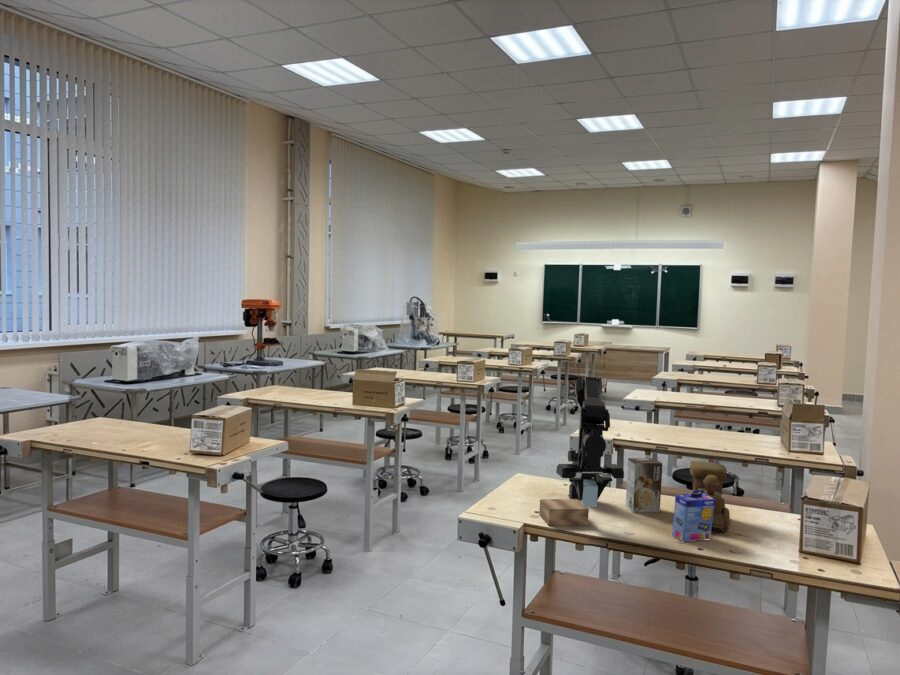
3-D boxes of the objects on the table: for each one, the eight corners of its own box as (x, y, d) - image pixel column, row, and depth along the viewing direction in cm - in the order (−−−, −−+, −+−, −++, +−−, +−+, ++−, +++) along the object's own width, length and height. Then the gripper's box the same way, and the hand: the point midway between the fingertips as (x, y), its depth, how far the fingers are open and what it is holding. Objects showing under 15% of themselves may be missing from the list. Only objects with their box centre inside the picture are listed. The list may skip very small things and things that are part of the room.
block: (593, 500, 184) (594, 480, 183) (596, 507, 178) (598, 486, 177) (579, 499, 184) (581, 479, 184) (582, 506, 178) (583, 485, 178)
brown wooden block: (576, 514, 192) (577, 498, 191) (587, 525, 183) (588, 508, 183) (539, 515, 190) (540, 499, 189) (548, 526, 181) (549, 509, 181)
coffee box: (651, 506, 204) (655, 458, 203) (660, 513, 197) (663, 463, 196) (624, 506, 203) (627, 457, 202) (632, 512, 196) (635, 462, 196)
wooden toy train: (684, 509, 202) (687, 459, 201) (721, 515, 199) (725, 463, 198) (688, 530, 183) (692, 475, 182) (730, 536, 180) (735, 480, 179)
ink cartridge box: (683, 543, 173) (687, 491, 172) (670, 535, 178) (674, 486, 177) (712, 540, 176) (716, 490, 175) (699, 533, 181) (703, 484, 180)
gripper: (610, 441, 189) (607, 491, 190) (551, 440, 186) (548, 491, 187) (626, 450, 178) (622, 503, 179) (564, 449, 175) (561, 503, 176)
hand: (588, 500), depth 181 cm, fingers closed on block, 5 cm apart
